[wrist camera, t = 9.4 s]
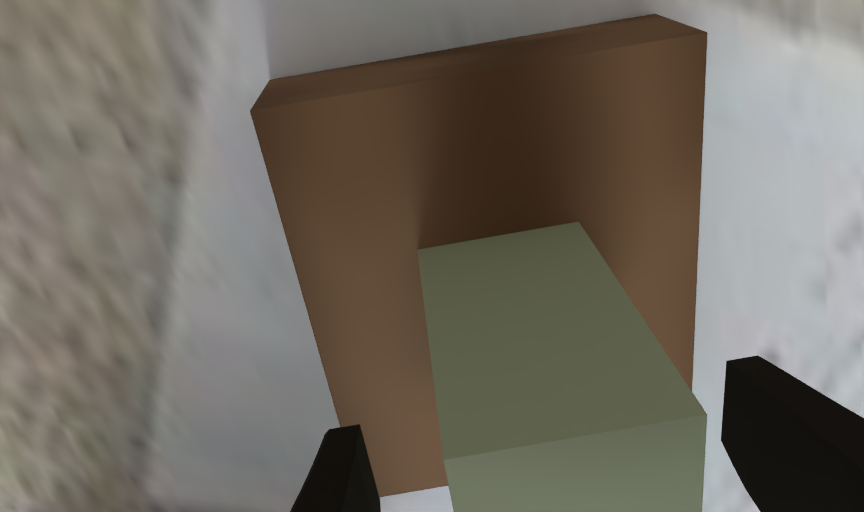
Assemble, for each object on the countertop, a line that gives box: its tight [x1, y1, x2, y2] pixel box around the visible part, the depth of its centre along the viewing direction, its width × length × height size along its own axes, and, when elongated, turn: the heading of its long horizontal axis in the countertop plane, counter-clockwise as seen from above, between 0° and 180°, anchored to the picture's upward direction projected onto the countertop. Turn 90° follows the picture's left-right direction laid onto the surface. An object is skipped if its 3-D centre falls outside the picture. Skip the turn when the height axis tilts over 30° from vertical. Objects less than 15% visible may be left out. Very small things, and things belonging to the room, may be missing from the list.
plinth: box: [250, 14, 707, 497], centre depth 18 cm, size 10×12×3 cm
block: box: [417, 222, 707, 512], centre depth 14 cm, size 4×4×7 cm
